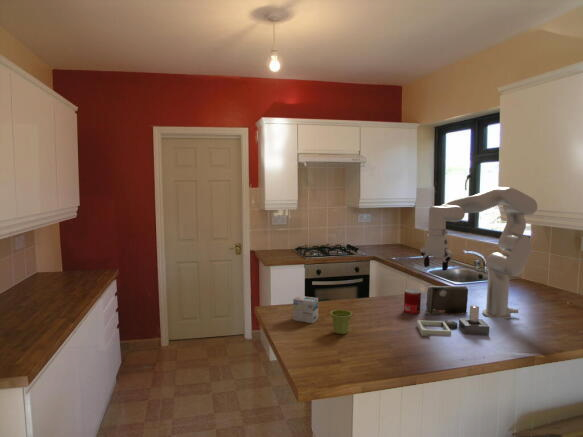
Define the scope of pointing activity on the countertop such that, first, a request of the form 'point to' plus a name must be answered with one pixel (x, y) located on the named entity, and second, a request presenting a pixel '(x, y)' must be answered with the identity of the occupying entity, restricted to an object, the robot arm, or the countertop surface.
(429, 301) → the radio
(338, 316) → the plant pot
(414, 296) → the canned food
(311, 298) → the light bulb box
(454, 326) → the wheel
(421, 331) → the parts tray
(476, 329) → the block
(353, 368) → the countertop surface
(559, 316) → the countertop surface
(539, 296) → the countertop surface
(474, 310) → the pin
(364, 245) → the countertop surface
